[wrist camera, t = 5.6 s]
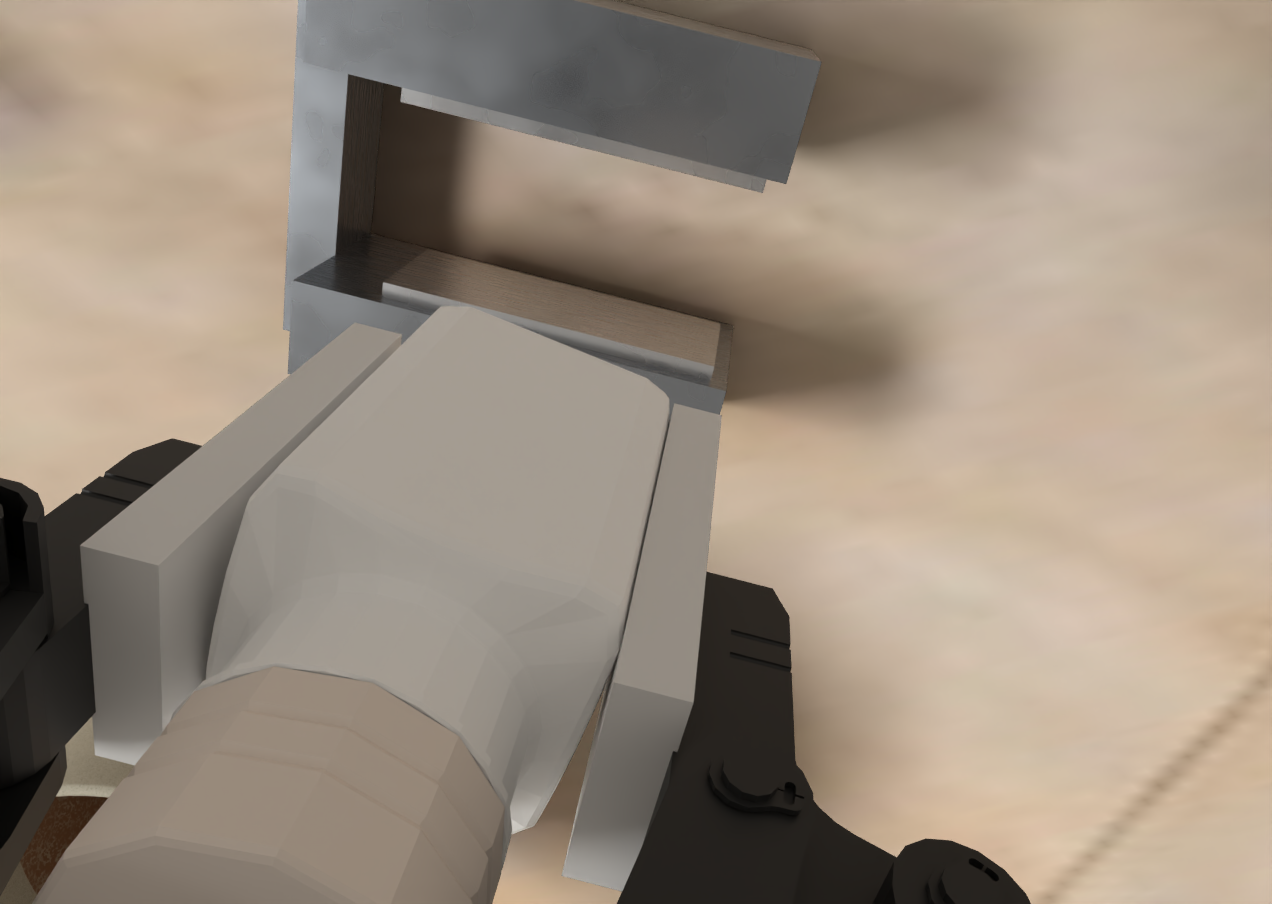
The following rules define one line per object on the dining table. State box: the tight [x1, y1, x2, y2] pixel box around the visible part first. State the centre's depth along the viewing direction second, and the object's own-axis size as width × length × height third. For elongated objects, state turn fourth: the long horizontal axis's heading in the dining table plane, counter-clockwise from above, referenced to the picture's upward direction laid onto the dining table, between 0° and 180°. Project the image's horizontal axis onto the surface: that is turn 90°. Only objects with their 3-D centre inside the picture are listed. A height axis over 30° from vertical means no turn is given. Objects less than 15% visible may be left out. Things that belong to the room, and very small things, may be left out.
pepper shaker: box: [32, 306, 670, 904], centre depth 11 cm, size 4×4×10 cm
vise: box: [283, 0, 821, 422], centre depth 28 cm, size 15×12×6 cm
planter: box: [0, 717, 135, 904], centre depth 36 cm, size 16×16×14 cm
